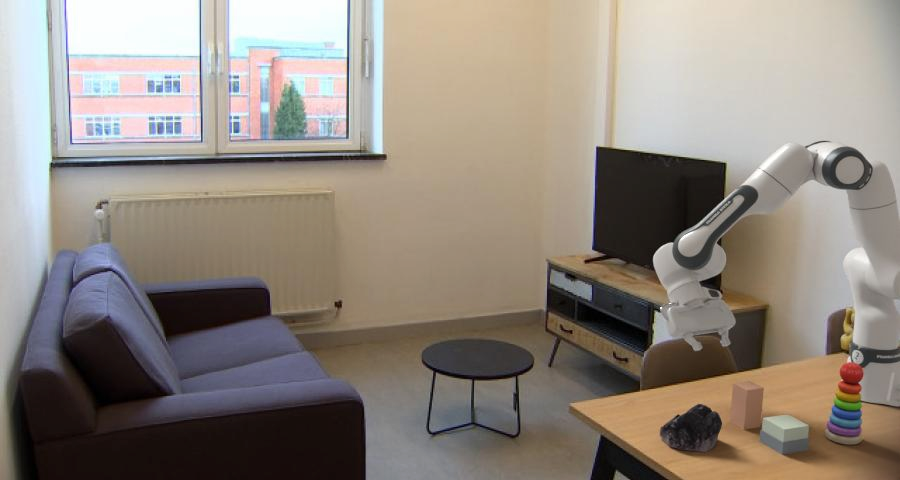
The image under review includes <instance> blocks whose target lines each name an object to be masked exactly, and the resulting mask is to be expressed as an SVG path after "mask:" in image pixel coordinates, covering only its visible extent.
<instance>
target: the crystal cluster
mask: <svg viewBox="0 0 900 480" xmlns="http://www.w3.org/2000/svg"><path fill="white" fill-rule="evenodd" d="M722 427H723V421H722V418H721V415H720V414H719V412H717V411H716V410H714V411H713V410H712V409H711V407H709V406H707V405H705V404H701V403H697V404H695V405H694V406H693V407H691V408H689V409H688V410H687V411H686V412H685V413H683V414H679V413H678V414H676V415H674V417H673V418H672V419H670V420H669V421H667V422H666V423H664V424H663V426H660V427H659V428H660V429H659V437H660V438H661V439H662V440H663V441H664V444H666V445H668V446H669V447H670V448H676V449H678V450H683V451H691V452H708V451H710V450H712V449H713V448H714V447H715V444H716V442H717V441H718V439H719V434H720V431H721V429H722Z"/></svg>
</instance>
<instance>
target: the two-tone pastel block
mask: <svg viewBox="0 0 900 480" xmlns="http://www.w3.org/2000/svg"><path fill="white" fill-rule="evenodd" d="M809 430H810V425H809V424H807V423H805V422H803V421H801V420H799V419H797V418H795V417H793V416H791V415H789V414H788V413H787V414H780V415H774V416H767V417H763V418H762V425H761V429H760V430H759V438H758V439H759V440H758V441H759V443H762V444H763V445H765V446H767V447H768V448H770V449H772V450H773V451H775V452H777V453H778V454H781V455H788V454H793V453H799V452H804V451H805V452H806V451H809V447H810V437H809Z"/></svg>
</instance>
